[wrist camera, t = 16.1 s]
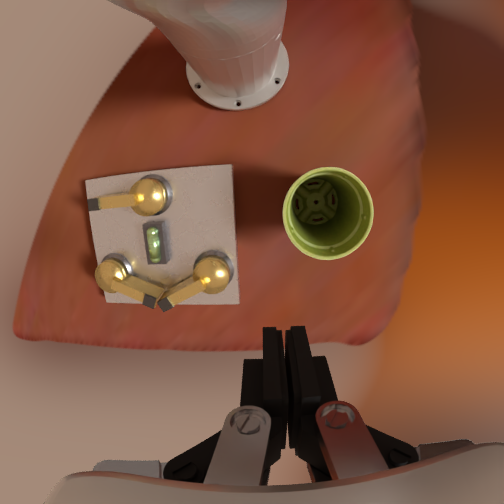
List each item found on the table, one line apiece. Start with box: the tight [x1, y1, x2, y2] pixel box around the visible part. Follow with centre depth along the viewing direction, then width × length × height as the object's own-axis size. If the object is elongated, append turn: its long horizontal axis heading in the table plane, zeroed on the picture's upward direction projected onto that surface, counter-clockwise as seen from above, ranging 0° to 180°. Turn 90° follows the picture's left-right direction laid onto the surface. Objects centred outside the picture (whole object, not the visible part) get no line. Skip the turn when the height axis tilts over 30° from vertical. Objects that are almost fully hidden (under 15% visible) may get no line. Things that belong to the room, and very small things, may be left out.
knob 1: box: [95, 258, 164, 309], centre depth 36 cm, size 10×4×3 cm, turn 69°
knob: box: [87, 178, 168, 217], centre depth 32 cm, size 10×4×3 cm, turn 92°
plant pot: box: [283, 167, 374, 260], centre depth 32 cm, size 9×9×9 cm
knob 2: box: [157, 255, 230, 312], centre depth 36 cm, size 10×4×3 cm, turn 120°
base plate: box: [85, 164, 240, 304], centre depth 36 cm, size 18×20×4 cm
